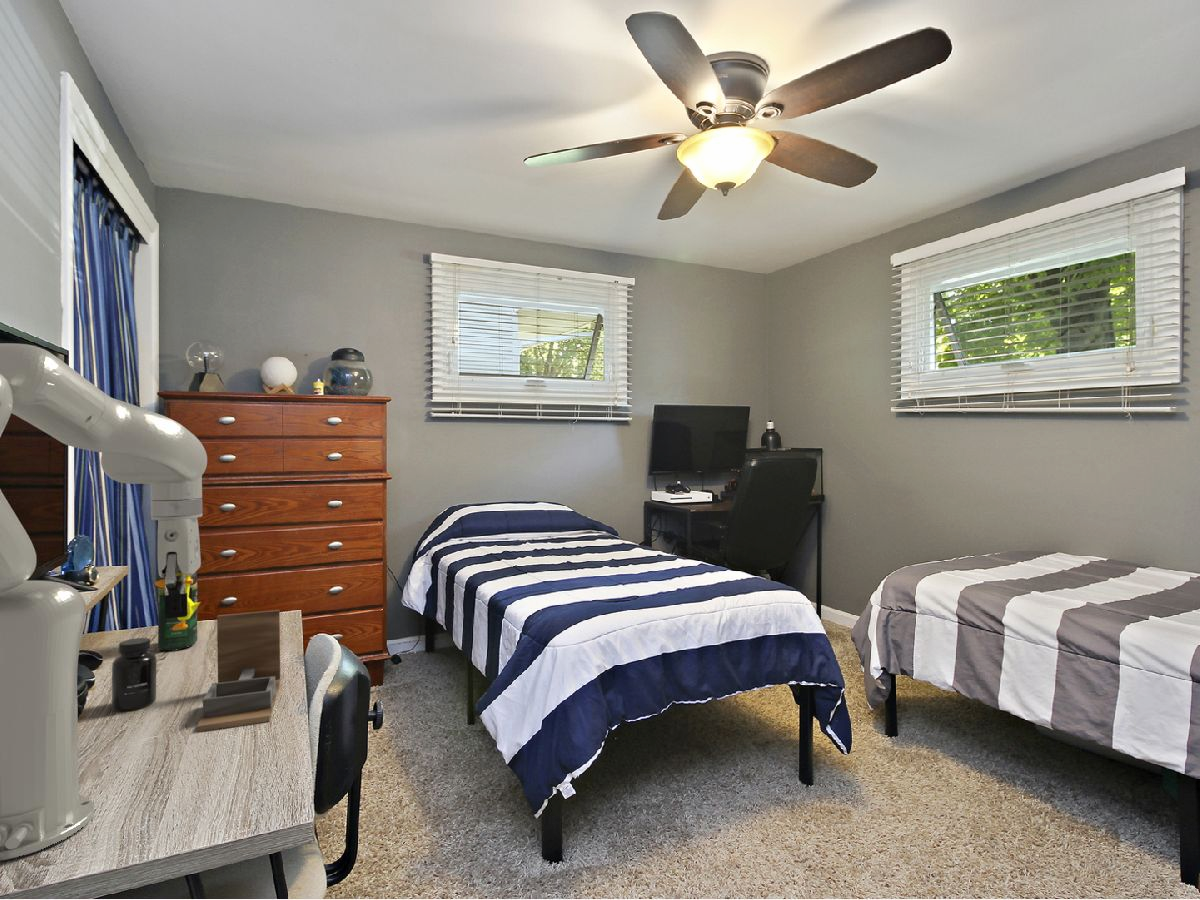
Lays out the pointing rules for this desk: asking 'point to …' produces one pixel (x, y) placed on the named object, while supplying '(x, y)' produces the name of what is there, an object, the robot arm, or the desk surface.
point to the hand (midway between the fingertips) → (179, 613)
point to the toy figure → (190, 603)
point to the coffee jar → (166, 634)
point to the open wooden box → (244, 671)
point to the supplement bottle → (134, 675)
